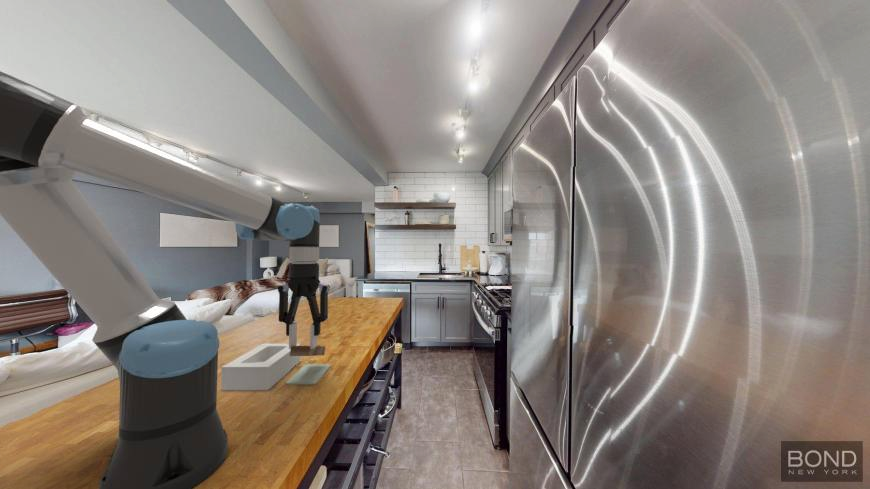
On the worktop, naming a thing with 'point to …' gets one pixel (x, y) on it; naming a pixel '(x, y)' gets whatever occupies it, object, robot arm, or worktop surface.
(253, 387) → the pocket block
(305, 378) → the sage mat
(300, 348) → the walnut bar
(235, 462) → the worktop surface
